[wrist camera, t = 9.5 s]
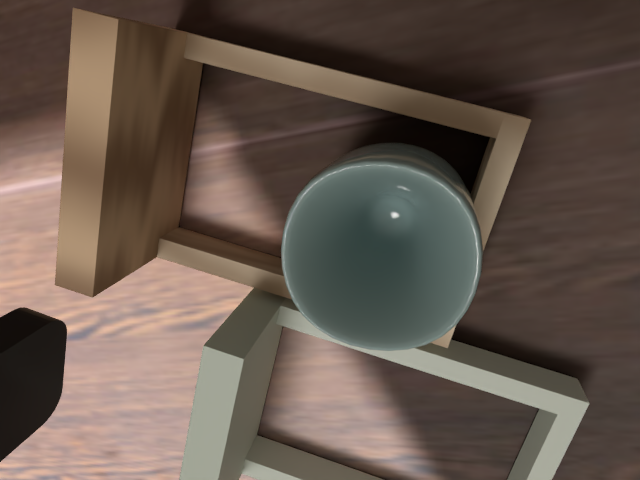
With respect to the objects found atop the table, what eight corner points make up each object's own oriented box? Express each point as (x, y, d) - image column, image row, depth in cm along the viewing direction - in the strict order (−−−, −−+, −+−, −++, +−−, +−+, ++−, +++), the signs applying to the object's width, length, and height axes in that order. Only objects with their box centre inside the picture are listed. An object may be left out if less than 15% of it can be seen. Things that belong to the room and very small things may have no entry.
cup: (323, 260, 31) (274, 338, 21) (331, 127, 28) (281, 149, 19) (457, 277, 29) (468, 369, 20) (477, 138, 27) (501, 168, 17)
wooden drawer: (173, 28, 28) (72, 7, 20) (522, 116, 26) (561, 131, 18) (146, 235, 32) (54, 284, 24) (446, 328, 30) (451, 415, 22)
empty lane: (260, 280, 32) (203, 345, 24) (577, 378, 29) (630, 487, 21) (226, 439, 36) (168, 540, 28) (502, 537, 33) (523, 677, 25)
